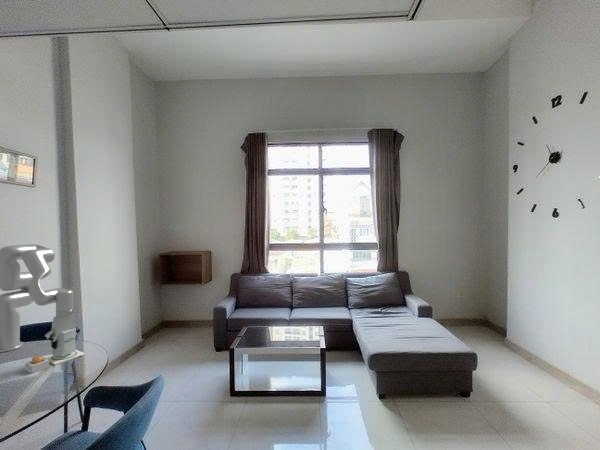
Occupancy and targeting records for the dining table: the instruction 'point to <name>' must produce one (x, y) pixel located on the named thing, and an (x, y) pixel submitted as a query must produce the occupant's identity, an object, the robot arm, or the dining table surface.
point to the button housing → (37, 365)
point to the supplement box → (65, 343)
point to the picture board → (64, 357)
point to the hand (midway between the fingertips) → (64, 345)
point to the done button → (37, 359)
